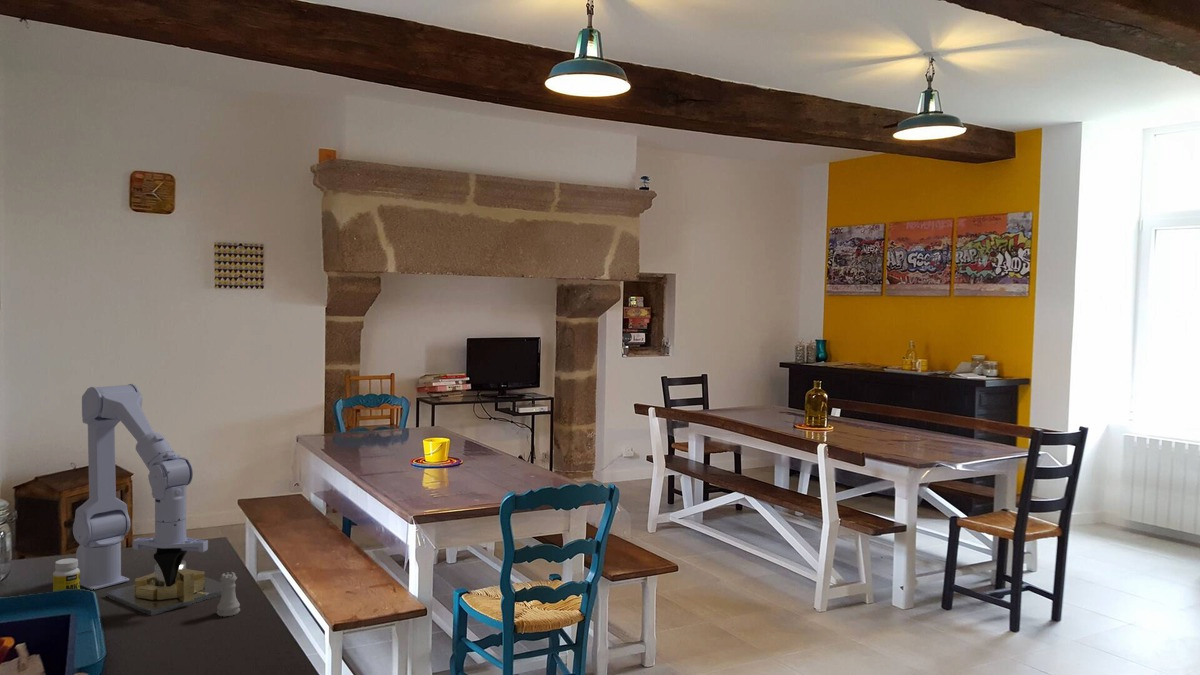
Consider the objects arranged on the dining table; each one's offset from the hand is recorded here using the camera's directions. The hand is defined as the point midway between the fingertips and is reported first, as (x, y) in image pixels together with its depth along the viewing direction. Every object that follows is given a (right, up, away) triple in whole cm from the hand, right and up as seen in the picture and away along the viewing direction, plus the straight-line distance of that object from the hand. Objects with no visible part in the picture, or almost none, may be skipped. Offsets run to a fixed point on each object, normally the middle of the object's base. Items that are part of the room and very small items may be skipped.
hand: (170, 585), depth 177 cm
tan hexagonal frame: (-3, -3, +6) cm, 7 cm away
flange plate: (-4, -4, +8) cm, 10 cm away
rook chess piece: (+13, -5, -2) cm, 14 cm away
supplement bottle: (-23, -4, +2) cm, 23 cm away
